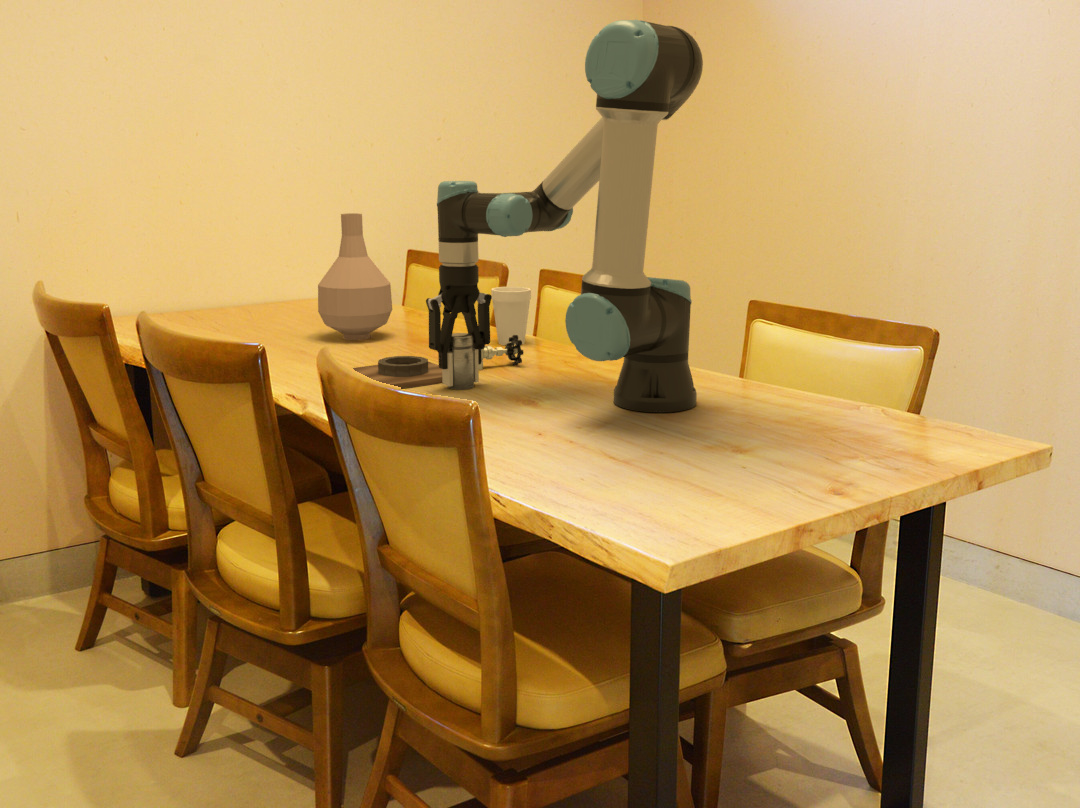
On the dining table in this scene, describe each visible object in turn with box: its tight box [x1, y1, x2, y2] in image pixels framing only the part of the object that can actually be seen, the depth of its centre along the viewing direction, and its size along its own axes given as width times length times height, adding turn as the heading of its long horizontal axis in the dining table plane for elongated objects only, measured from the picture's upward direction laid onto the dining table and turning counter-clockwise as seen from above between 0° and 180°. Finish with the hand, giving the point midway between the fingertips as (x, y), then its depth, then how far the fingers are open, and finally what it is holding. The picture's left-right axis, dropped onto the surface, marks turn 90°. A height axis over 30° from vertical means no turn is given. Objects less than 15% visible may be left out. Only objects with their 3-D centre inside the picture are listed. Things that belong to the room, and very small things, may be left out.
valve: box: [478, 335, 524, 371], centre depth 217 cm, size 7×7×12 cm
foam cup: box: [490, 286, 532, 346], centre depth 243 cm, size 10×9×13 cm
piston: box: [446, 332, 475, 391], centre depth 199 cm, size 5×5×10 cm
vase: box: [317, 212, 393, 341], centre depth 247 cm, size 18×18×30 cm
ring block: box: [352, 355, 443, 389], centre depth 208 cm, size 18×18×3 cm
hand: (460, 382), depth 200 cm, fingers closed on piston, 5 cm apart
